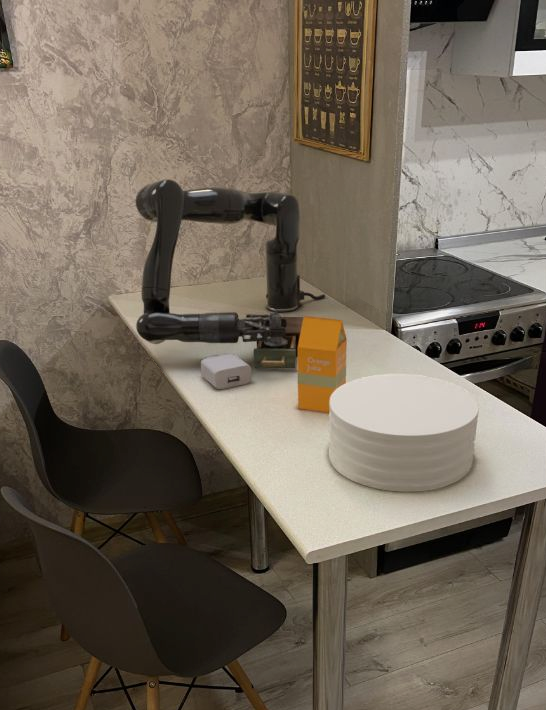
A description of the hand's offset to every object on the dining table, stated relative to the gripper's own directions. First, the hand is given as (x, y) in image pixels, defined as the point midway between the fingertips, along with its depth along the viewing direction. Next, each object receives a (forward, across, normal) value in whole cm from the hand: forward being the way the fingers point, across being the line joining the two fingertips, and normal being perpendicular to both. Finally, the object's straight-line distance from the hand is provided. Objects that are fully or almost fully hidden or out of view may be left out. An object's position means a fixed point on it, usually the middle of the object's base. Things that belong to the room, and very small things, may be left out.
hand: (285, 327), depth 187 cm
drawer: (-2, -3, +8) cm, 9 cm away
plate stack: (+24, -50, +9) cm, 56 cm away
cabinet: (-2, +11, +9) cm, 14 cm away
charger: (-16, -9, +9) cm, 20 cm away
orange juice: (+9, -26, +9) cm, 29 cm away
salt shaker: (-3, 0, +8) cm, 8 cm away
